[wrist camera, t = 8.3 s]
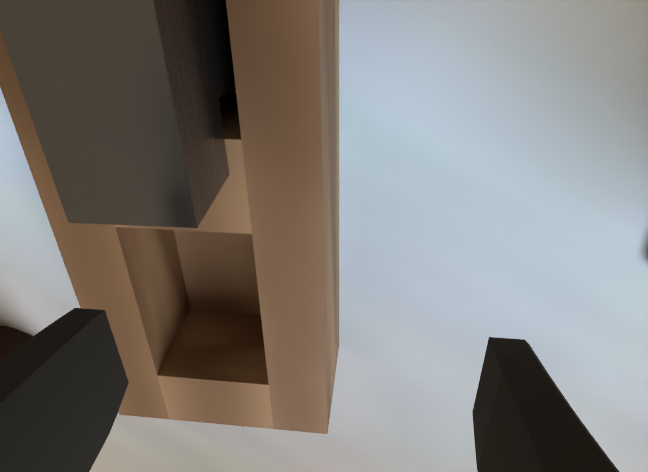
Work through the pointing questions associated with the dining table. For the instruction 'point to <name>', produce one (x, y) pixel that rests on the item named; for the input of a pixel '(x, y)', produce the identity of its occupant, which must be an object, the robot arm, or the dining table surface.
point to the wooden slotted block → (230, 242)
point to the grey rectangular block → (126, 103)
